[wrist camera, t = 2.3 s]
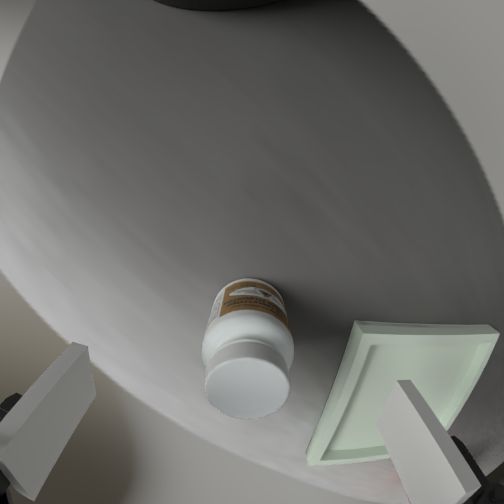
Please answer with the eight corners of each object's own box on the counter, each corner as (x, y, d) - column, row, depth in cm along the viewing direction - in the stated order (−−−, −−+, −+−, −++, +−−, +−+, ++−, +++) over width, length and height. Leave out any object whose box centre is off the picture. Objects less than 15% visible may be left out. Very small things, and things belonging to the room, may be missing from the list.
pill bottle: (295, 289, 18) (321, 364, 10) (268, 347, 19) (276, 435, 11) (226, 266, 18) (208, 331, 10) (204, 327, 19) (181, 410, 11)
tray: (354, 320, 18) (362, 333, 17) (488, 324, 19) (500, 333, 17) (305, 451, 22) (308, 465, 20) (428, 437, 22) (434, 448, 21)
